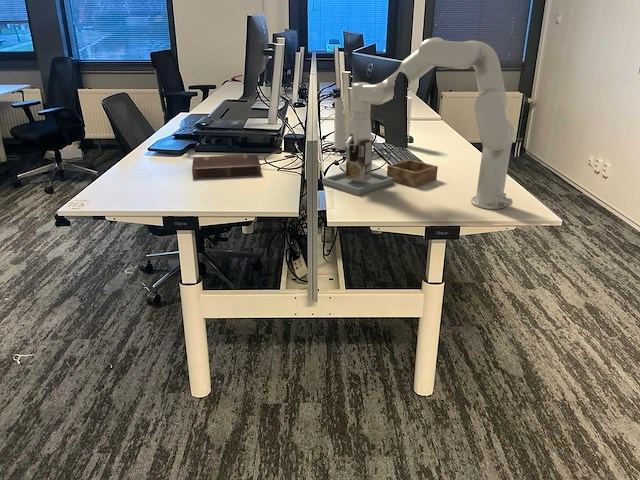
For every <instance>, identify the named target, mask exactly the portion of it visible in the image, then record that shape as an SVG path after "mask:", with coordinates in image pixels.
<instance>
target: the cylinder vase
mask: <svg viewBox="0 0 640 480" xmlns="http://www.w3.org/2000/svg"><path fill="white" fill-rule="evenodd" d="M342 97H343V96H339V97H336V98H334V130H333V131H334V138H333V139H334V141H333V147H334V148H335V149H336V150H339V151H346V149H345V130H344V113H343V101H342Z"/></svg>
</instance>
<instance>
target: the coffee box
mask: <svg viewBox="0 0 640 480" xmlns="http://www.w3.org/2000/svg"><path fill="white" fill-rule="evenodd" d="M373 142H374V139H373V140H366V141H363V142H360V143H359V145H357V148H356V151H355V152H356V162H353V161H350V160H349V151H348V149H347V147H346V150H345V159H346V161H345V172H346V179H349V180H355V181H361V182H366V181H368V180H370V179H371V172H373V171H372V168H373V167H372V166H373ZM350 144H351V143H350ZM352 144H354V142H352ZM352 147H353V148H354V146H353V145H352Z"/></svg>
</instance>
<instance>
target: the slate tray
mask: <svg viewBox="0 0 640 480" xmlns="http://www.w3.org/2000/svg"><path fill="white" fill-rule="evenodd" d="M394 183H395V182H394V178H392V177H389V176H387V175H384V174H380V173H377V172H373V171H372V172H371V179H370V180H368V181H366V182H361V181H355V180H349V179H346V171H343V172H339V173H336V174H332V175H329V176H326V177H323V178H321V184H322V185H324V186H326V187H330V188H332V189H333V188H334V189H337V190H339V191H342V192H345V193H349V194H352V195H356V196H361V195H364V194H369V193H370V192H373V191H376V190H379V189H382V188H385V187H388V186H390V185H391V186H392V185H393V184H394Z"/></svg>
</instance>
